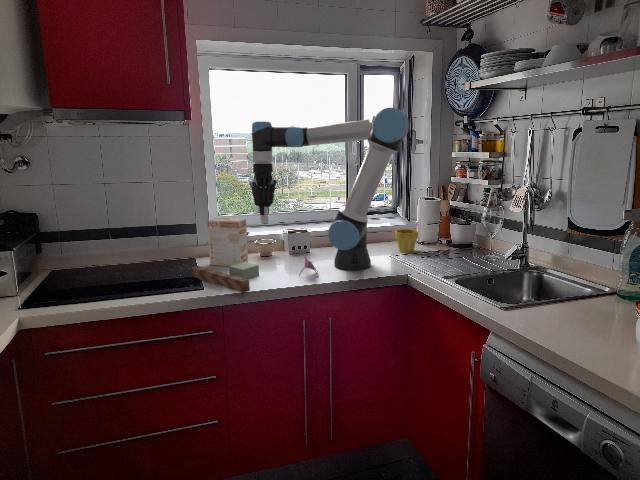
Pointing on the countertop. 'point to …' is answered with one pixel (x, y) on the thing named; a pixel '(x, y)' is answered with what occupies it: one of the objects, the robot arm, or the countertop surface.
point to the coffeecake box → (227, 241)
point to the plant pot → (406, 239)
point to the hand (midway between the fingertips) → (264, 222)
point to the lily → (308, 265)
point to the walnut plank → (221, 278)
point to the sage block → (244, 270)
